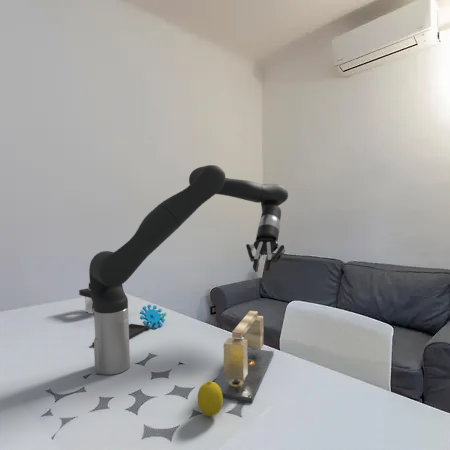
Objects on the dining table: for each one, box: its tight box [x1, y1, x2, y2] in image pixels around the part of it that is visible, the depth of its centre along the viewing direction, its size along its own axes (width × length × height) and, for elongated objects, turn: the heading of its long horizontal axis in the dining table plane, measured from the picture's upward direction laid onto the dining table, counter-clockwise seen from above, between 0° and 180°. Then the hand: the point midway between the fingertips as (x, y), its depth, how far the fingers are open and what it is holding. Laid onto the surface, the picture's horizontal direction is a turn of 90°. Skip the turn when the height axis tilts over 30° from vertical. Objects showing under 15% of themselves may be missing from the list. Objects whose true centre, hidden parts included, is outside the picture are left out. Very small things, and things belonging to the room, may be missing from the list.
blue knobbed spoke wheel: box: [139, 304, 168, 330], centre depth 139 cm, size 11×6×10 cm
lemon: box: [197, 380, 224, 418], centre depth 80 cm, size 6×6×8 cm
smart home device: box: [92, 323, 148, 348], centre depth 128 cm, size 8×2×20 cm
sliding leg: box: [231, 310, 264, 350], centre depth 102 cm, size 20×5×12 cm, turn 162°
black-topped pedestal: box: [78, 281, 94, 315], centre depth 155 cm, size 28×26×13 cm
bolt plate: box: [214, 337, 274, 404], centre depth 100 cm, size 27×11×12 cm, turn 162°
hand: (261, 270), depth 119 cm, fingers open, 3 cm apart
